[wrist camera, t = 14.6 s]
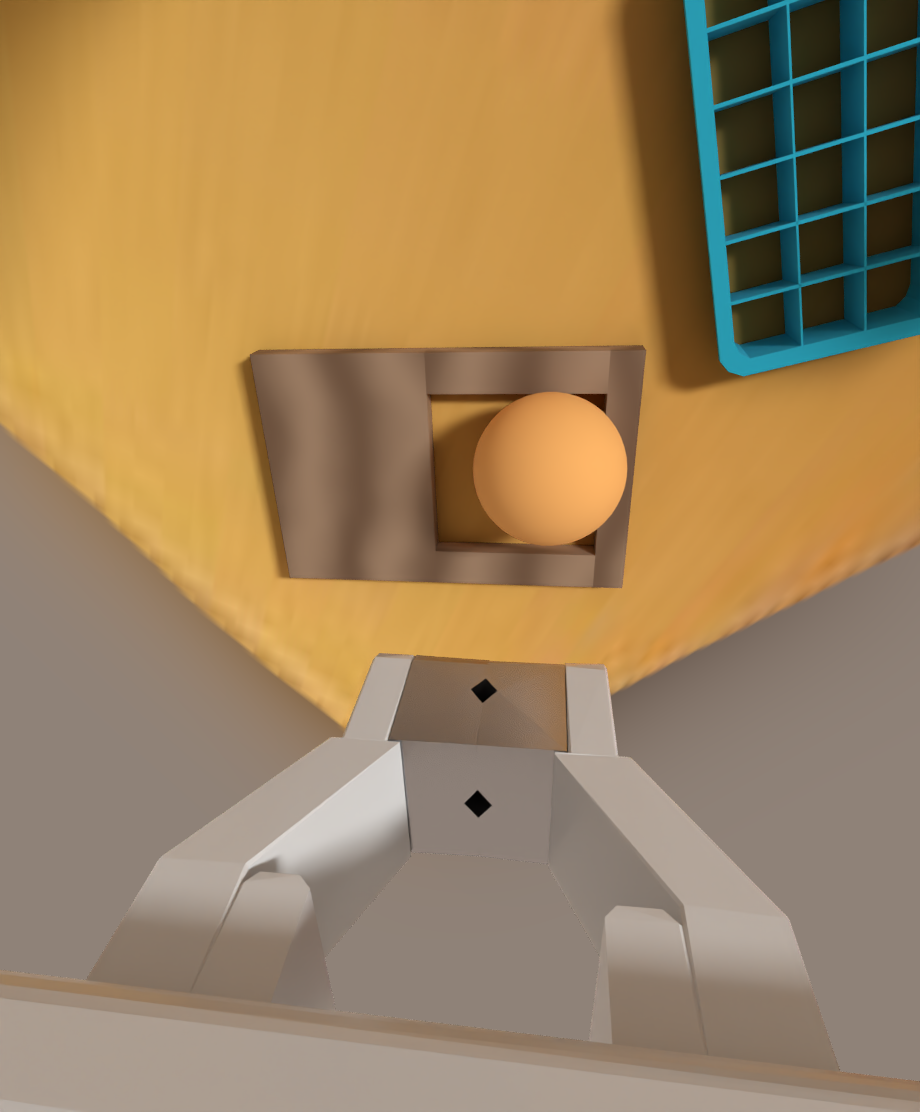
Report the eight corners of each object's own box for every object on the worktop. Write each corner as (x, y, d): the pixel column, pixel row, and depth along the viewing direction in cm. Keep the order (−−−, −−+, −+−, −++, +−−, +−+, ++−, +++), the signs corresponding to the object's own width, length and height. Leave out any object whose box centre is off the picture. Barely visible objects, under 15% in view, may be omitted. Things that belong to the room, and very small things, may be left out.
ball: (672, 487, 33) (648, 471, 42) (560, 351, 32) (559, 363, 41) (536, 593, 35) (540, 557, 44) (428, 467, 35) (454, 456, 43)
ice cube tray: (710, 369, 39) (722, 381, 36) (665, -51, 30) (677, -76, 28) (925, 317, 36) (954, 326, 34) (943, -160, 28) (984, -198, 25)
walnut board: (296, 567, 49) (290, 577, 48) (259, 350, 41) (249, 354, 40) (620, 577, 46) (622, 588, 45) (642, 345, 38) (646, 350, 37)
